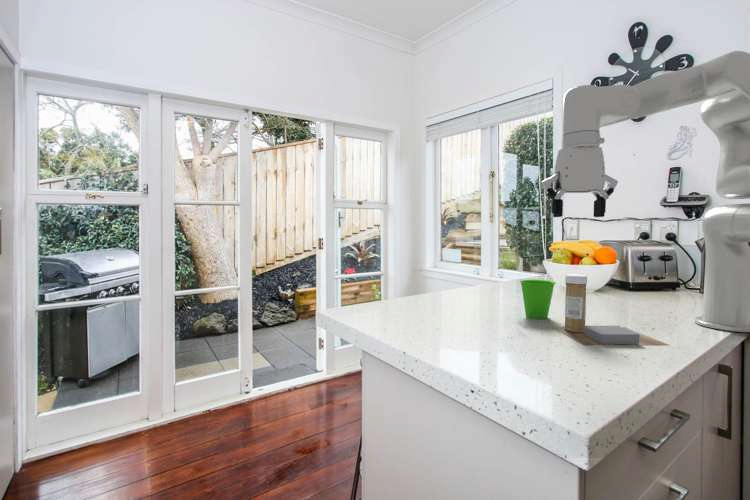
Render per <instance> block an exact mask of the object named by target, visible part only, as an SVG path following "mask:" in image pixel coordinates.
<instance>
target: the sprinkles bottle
mask: <svg viewBox="0 0 750 500" xmlns="http://www.w3.org/2000/svg"><path fill="white" fill-rule="evenodd" d="M564 278H565V280H564V282H565V297H564V298H565V299H564V300H565V301H564V329H565V330H567V331H570V332H576V333H582V332H583V326H586V316H587V305H586V304H587V303H586V302H587V300H586V299H587V284H588V275H586V274H580V273H569V274H566V275H565V277H564Z"/></svg>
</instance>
